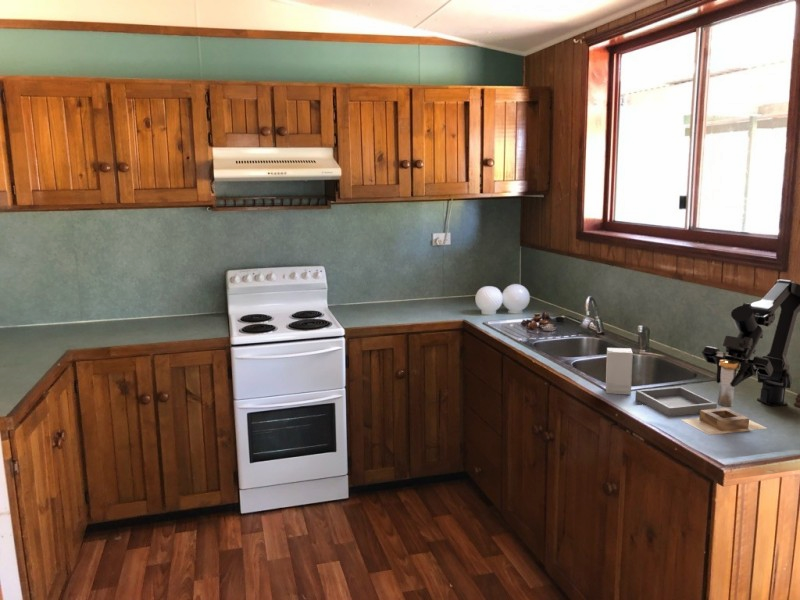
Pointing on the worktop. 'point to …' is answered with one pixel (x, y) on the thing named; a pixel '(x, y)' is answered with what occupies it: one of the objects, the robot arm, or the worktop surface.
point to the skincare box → (619, 370)
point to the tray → (674, 400)
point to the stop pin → (727, 382)
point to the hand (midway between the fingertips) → (724, 384)
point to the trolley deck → (714, 431)
